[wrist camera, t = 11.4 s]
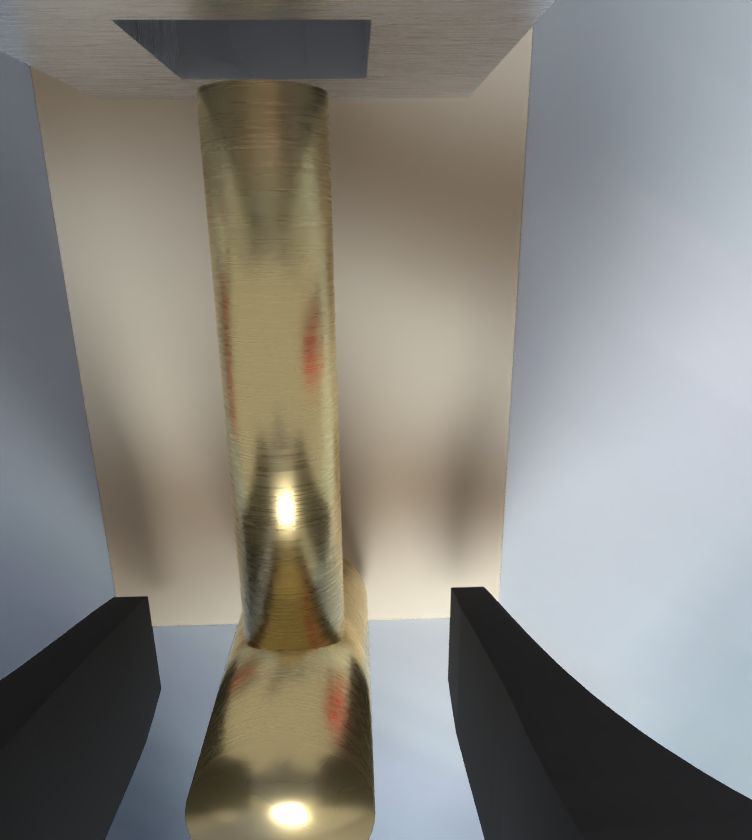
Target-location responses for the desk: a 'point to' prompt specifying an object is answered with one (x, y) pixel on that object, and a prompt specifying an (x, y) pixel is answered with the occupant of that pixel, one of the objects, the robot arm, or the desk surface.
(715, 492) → the desk surface
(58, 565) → the desk surface
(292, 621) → the hook rod
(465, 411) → the birch base board
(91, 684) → the robot arm
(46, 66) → the block
